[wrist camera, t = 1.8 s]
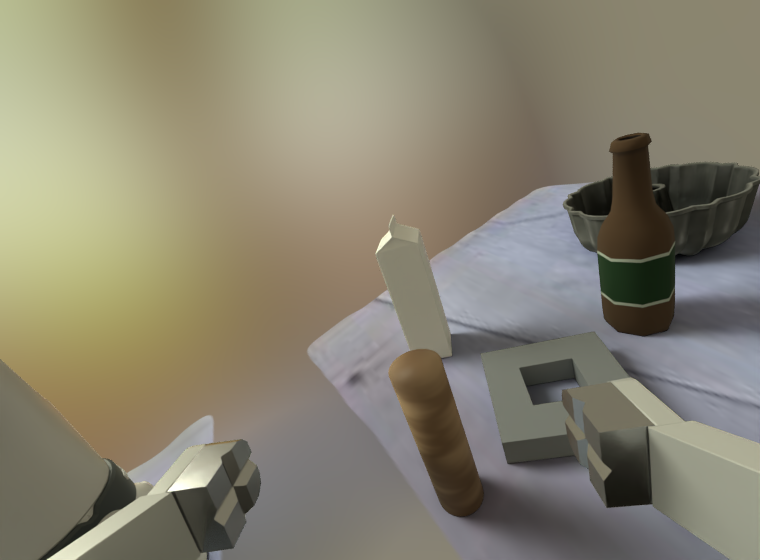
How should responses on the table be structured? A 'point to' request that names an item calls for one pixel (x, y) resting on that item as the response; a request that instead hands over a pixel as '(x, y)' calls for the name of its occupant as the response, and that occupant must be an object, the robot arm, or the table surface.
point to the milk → (413, 289)
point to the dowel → (437, 429)
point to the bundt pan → (678, 203)
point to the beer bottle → (636, 246)
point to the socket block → (535, 366)
